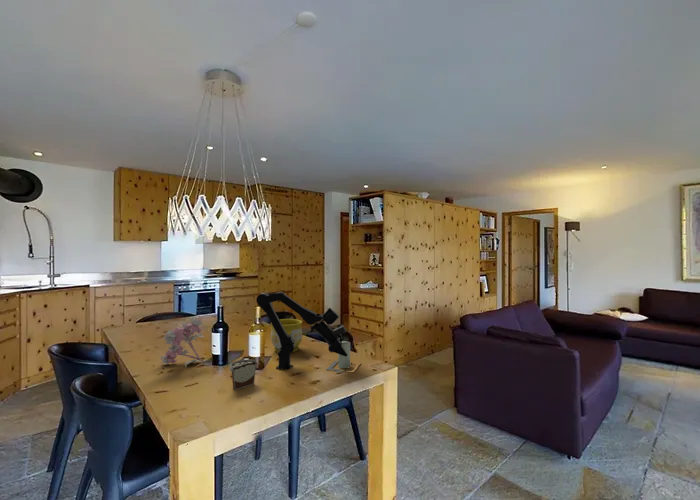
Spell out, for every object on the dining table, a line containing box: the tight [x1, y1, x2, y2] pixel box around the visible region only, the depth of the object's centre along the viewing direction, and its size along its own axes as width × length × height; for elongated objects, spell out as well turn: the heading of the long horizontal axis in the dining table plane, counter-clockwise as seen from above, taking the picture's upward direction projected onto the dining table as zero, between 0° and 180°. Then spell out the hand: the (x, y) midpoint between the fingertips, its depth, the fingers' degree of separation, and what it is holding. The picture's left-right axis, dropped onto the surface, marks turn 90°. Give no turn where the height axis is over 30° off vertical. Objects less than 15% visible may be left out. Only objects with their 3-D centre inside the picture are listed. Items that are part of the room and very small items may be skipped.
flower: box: [159, 315, 205, 368], centre depth 180 cm, size 20×22×25 cm
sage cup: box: [337, 340, 351, 369], centre depth 177 cm, size 6×6×12 cm
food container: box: [229, 358, 258, 391], centre depth 152 cm, size 12×6×10 cm, turn 141°
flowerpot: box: [270, 318, 303, 354], centre depth 206 cm, size 18×18×16 cm
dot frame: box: [325, 360, 342, 372], centre depth 177 cm, size 14×14×1 cm
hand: (347, 353), depth 177 cm, fingers open, 6 cm apart
